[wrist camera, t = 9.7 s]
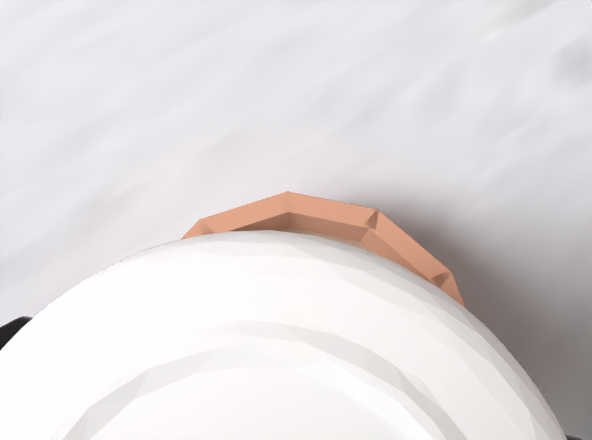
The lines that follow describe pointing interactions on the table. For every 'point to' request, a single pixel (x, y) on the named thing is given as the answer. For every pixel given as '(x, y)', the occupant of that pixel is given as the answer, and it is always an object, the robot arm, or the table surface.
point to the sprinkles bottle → (263, 352)
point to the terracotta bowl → (334, 231)
